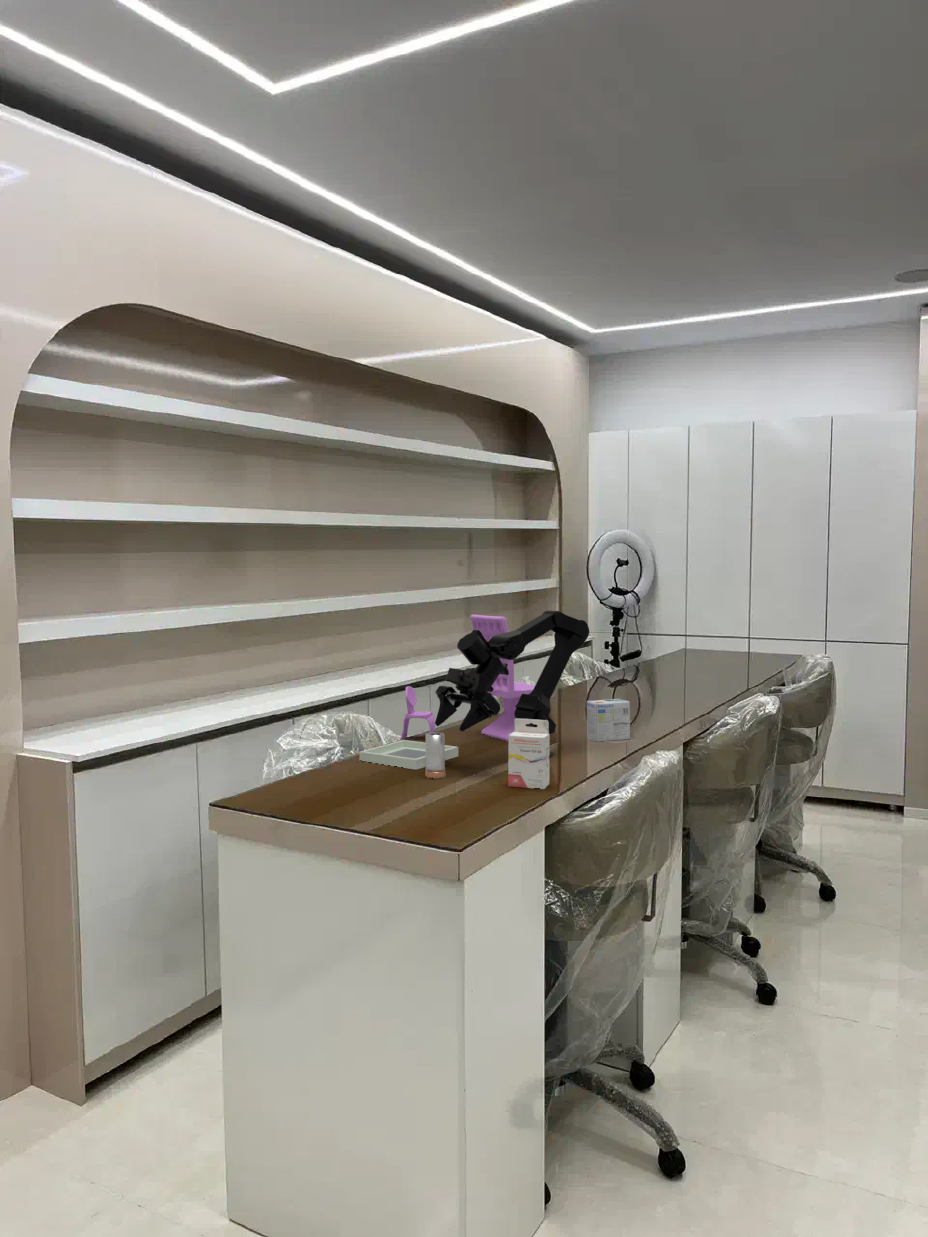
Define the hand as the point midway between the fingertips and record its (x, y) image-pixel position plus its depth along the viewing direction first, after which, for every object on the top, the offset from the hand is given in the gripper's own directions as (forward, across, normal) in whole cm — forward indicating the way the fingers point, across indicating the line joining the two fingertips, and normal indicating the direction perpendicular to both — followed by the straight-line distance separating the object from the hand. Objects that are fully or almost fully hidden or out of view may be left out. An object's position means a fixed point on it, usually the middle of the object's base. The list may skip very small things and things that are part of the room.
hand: (448, 727), depth 214 cm
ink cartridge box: (+4, +21, +12) cm, 25 cm away
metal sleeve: (+11, 0, +5) cm, 12 cm away
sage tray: (+6, -20, +10) cm, 23 cm away
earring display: (-22, -25, +37) cm, 50 cm away
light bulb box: (-35, -3, +50) cm, 61 cm away
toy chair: (-6, -39, +22) cm, 45 cm away
